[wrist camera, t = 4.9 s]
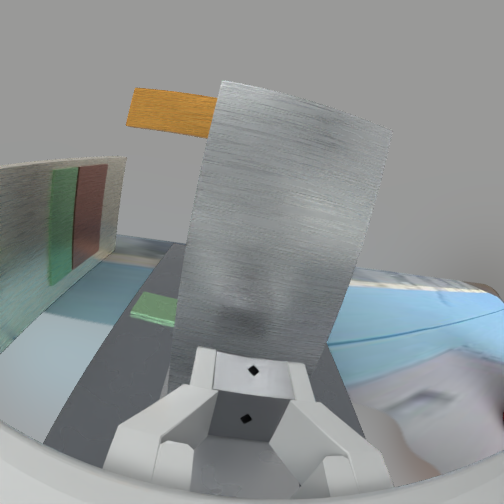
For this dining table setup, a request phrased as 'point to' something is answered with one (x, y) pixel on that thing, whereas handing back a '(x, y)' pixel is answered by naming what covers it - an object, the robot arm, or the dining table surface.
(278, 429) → the robot arm
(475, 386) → the dining table surface
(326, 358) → the base
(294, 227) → the brushed steel slab
